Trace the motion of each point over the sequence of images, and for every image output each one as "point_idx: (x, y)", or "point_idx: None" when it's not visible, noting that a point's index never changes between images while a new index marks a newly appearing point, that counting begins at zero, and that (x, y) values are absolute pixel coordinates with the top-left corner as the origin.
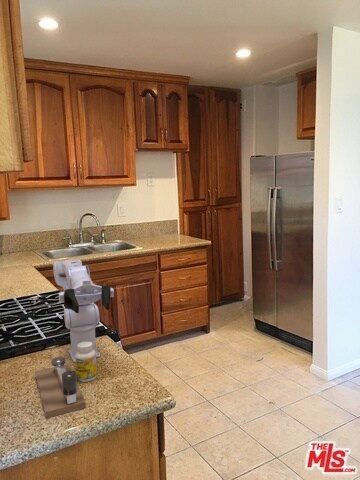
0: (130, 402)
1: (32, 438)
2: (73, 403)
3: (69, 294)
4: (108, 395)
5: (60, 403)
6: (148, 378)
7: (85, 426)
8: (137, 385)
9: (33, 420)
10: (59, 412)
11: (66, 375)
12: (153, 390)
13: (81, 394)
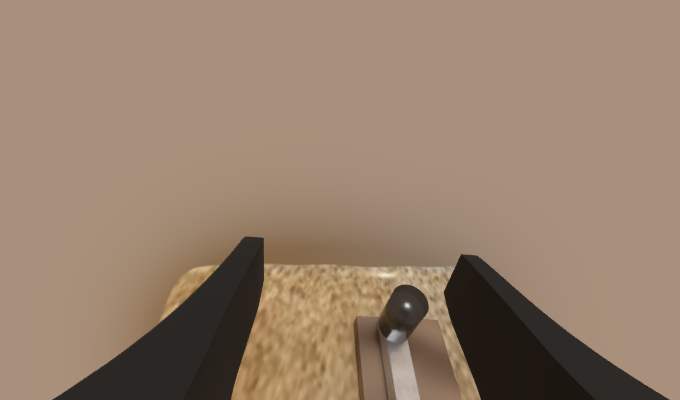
0: (261, 293)
1: (444, 282)
2: None
3: (644, 390)
4: (293, 347)
5: (410, 337)
6: None
7: (361, 268)
8: None
9: (455, 333)
10: None
11: (415, 296)
12: None
13: (361, 353)
